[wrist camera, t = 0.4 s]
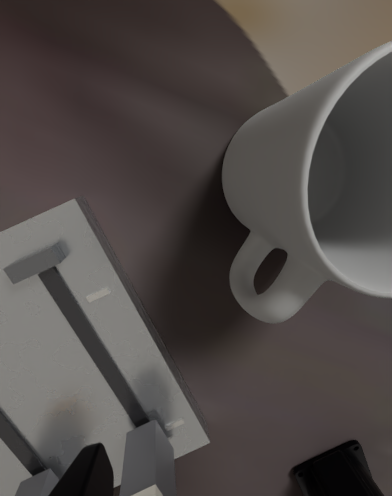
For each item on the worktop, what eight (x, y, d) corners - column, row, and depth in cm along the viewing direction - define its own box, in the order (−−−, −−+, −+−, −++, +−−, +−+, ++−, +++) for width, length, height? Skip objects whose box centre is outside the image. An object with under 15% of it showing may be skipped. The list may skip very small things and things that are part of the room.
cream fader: (175, 449, 21) (182, 538, 16) (145, 463, 21) (142, 557, 16) (155, 416, 20) (155, 500, 15) (124, 431, 20) (113, 519, 15)
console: (205, 420, 24) (213, 457, 21) (38, 499, 24) (21, 547, 21) (83, 195, 18) (68, 200, 15) (-138, 295, 18) (-197, 320, 15)
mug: (270, 76, 18) (426, -53, 8) (365, 155, 20) (590, 139, 10) (167, 238, 20) (181, 313, 9) (265, 296, 22) (365, 410, 11)
